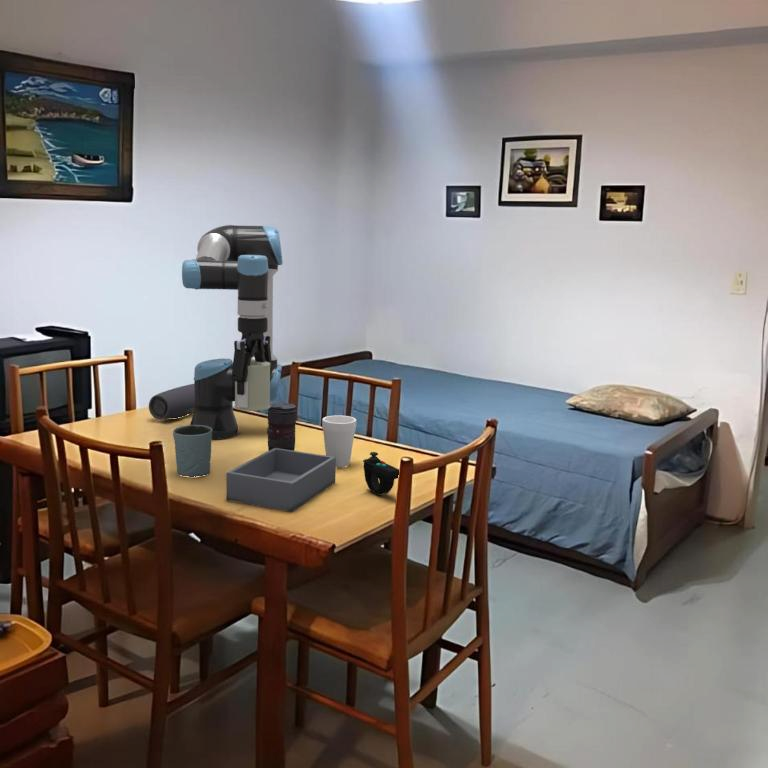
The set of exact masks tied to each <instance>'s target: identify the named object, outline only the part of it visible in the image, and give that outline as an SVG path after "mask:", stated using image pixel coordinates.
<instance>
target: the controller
mask: <svg viewBox="0 0 768 768" xmlns="http://www.w3.org/2000/svg"><path fill="white" fill-rule="evenodd" d="M369 455H370V457H369V458H367V459H366V458H365V459H363V460H362V462H363V471H364V472H363V473H364V478H365V479H364V480H365V483H366V485H367V487H368V489H369V490H370V491H371V492H372V493H373V494H374V495H378V496H379V495H385V494H388V493H389V492H391V490H392V489H393V487H394V484H395V480H397V479H399V478H398V475H399V470H400V469H399V468H397V467H395V466H392V465H390V464H388V463H386V462H385V461H383V460H381V459H380V458H379V457H378V456H379V453H378V452H377V451H371V452H370V453H369Z"/></svg>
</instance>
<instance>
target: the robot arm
mask: <svg viewBox="0 0 768 768" xmlns="http://www.w3.org/2000/svg"><path fill="white" fill-rule="evenodd" d="M280 239H281V238H280V232H279V229H278V228H276V227H274V226H268V225H267V226H266V225H237V224H236V225H233V224H227V225H226V224H225V225H222V226H217V227H215V228H212V229H211V230H209V231H207V232H206V233H204V234H203V235H201V237H200V239H199V241H198V243H197V254H196V257H195V258H192V259H185V260H184V261H183V262H182V266H181V282H182V286H183V287H184V288H185V289H192V290H193V289H194V290H231V291H232V290H234V291H236V290H237V315H238V317H237V331H238V333H241V339H240V340H234V341H233V346H234V352H233V360H232V358H215V359H207V360H204V361H201V362H199V363H197V364H196V365H195V367H194V371H193V373H194V374H193V375H194V377H193V381H194V383H193V384H194V386H195V410H194V411H193V413H192V417H191V421H190V424H189V425H204V426H208V427H211V428H212V440H213V439H215V440H223V439H224V440H225V439H229V438H230V439H231V438H234V437H236V436H238V435H239V424H238V422H237V418H236V416H235V413H234V408H233V404H234V402H235V381H236V382H237V407H244V408H247V407H248V382H246V378H247V374H248V366H250V362H251V360H254V361H257V362H265V361H266V362H269V363H270V402H273V401H276V400H277V398H278V397H279V389H280V385H281V384H280V383H281V376H282V367H283V366H282V364H280V363H278V358H277V357H276V356H275V355H274V354H273V339H274V338H273V333H274V332H273V331H274V330H273V326H274V325H273V317H274V316H273V314H274V313H273V311H274V310H273V309H274V308H273V306H274V300H273V299H274V294H273V293H274V275H275V274H276V273H277V272H278V271H279V266H282V265H283V264H284V263H283V254H282V246H281V240H280ZM242 376H243V377H242ZM212 440H211V441H212ZM213 441H214V440H213Z"/></svg>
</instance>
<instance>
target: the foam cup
mask: <svg viewBox="0 0 768 768" xmlns="http://www.w3.org/2000/svg"><path fill="white" fill-rule="evenodd" d="M321 420H322V422H321V424H322V425H321V428H322V430H323V431H322V432H323V442H324V449H325V451H324V452H325V455H326V456H332V457H336V467H343V468H346V467H345V466H347V467H349V466H350V463H351V458H352V457H351V456H352V452H353V445H354V439H355V438H354V437H355V433H356V428H357V419H356V418H355V417H353V416H350V415H349V416H348V415H337V414H336V415H328V416H325V417H324V416H323V418H322V419H321ZM348 465H349V466H348Z"/></svg>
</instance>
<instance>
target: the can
mask: <svg viewBox="0 0 768 768" xmlns="http://www.w3.org/2000/svg"><path fill="white" fill-rule="evenodd" d="M242 377H243V376H242ZM246 382H248V407H247V408H244V407H237V382H236V381H235V401H234V409H236V410H239V411H248V412H261V411H267V410H268V409H269V408H270V404H271V401H270V363H269V362H266V361H265V362H257V361H254V360H251V362H250V366H248V374H247V378H246Z"/></svg>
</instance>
